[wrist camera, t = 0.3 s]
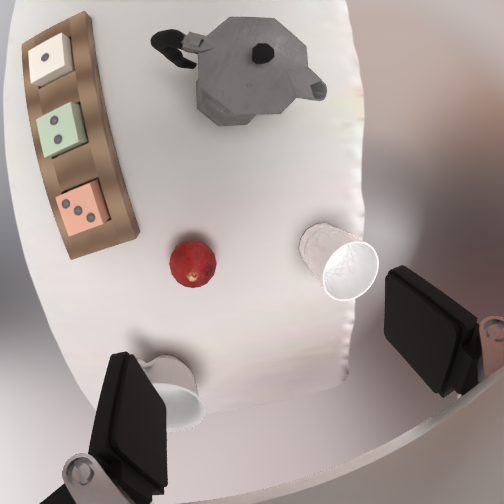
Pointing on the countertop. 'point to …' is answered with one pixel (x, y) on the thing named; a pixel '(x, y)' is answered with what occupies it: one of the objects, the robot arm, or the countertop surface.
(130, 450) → the robot arm
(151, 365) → the teacup
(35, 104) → the button panel
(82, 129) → the button two
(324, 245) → the white cup
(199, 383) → the countertop surface
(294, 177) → the countertop surface
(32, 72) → the button one
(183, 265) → the pomegranate
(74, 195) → the button three
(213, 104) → the coffeepot
